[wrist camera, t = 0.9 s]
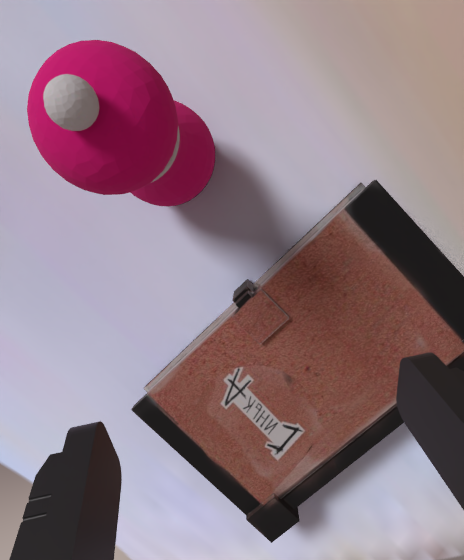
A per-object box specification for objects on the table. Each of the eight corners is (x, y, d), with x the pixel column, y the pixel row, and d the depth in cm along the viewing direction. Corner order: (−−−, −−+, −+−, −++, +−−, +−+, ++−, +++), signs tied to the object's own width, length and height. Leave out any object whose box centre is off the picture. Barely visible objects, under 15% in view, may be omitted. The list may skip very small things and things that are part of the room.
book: (353, 176, 32) (371, 172, 27) (486, 323, 34) (526, 343, 29) (140, 379, 37) (123, 407, 32) (268, 499, 38) (271, 542, 34)
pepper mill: (237, 151, 32) (217, 69, 12) (186, 223, 33) (93, 253, 13) (164, 95, 31) (20, -87, 12) (115, 170, 32) (-89, 122, 13)
